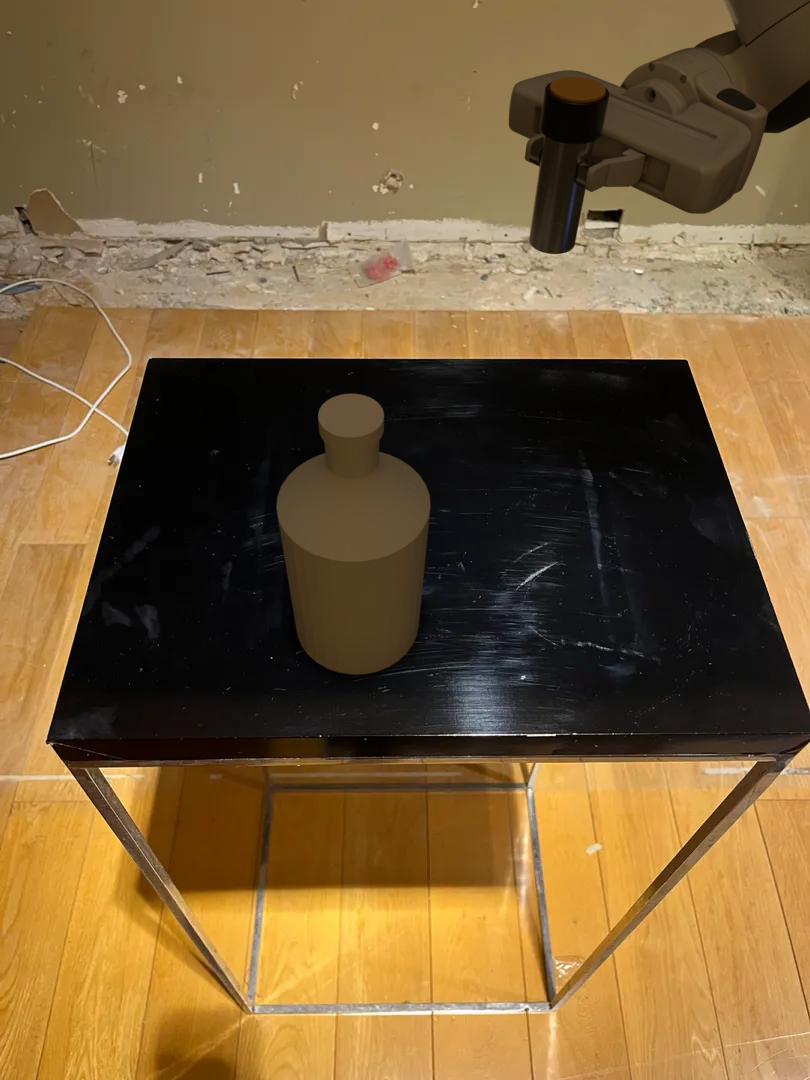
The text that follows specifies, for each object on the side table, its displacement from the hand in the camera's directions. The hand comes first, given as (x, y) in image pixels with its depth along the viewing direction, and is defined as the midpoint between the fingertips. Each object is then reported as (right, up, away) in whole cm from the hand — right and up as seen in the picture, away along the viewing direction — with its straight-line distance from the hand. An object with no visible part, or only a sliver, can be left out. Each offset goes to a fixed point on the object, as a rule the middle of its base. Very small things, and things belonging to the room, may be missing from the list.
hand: (557, 166), depth 63 cm
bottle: (-16, -36, +14) cm, 42 cm away
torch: (+1, -4, +6) cm, 7 cm away
